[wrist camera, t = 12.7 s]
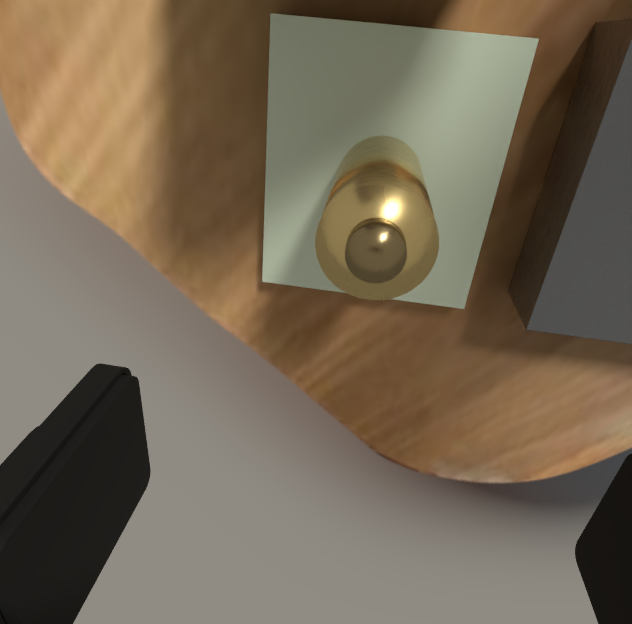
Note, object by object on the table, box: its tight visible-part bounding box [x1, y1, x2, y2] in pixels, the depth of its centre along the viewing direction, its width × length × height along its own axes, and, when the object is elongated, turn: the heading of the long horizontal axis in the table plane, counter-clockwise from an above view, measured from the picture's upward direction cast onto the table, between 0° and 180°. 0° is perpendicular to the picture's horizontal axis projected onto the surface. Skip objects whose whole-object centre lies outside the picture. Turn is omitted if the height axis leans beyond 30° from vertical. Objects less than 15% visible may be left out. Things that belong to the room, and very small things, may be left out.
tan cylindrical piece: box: [315, 135, 439, 300], centre depth 24 cm, size 5×5×12 cm
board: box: [262, 13, 539, 309], centre depth 30 cm, size 16×14×2 cm
